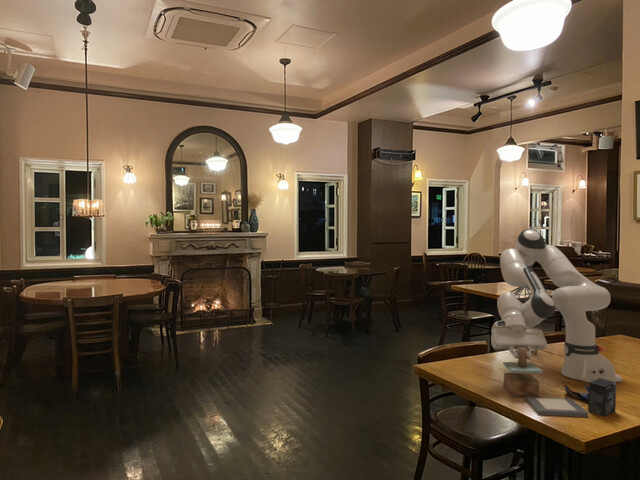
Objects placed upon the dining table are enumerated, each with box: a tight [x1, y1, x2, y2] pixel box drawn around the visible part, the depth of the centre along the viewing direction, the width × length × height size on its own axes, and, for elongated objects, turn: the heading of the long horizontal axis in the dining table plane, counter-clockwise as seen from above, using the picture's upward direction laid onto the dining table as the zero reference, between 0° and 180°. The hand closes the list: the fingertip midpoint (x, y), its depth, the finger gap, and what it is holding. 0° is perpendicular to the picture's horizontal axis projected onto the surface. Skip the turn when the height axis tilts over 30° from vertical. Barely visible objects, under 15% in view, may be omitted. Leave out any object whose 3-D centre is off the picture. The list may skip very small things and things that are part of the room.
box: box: [587, 378, 617, 417], centre depth 160 cm, size 8×6×11 cm
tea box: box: [502, 372, 540, 398], centre depth 178 cm, size 10×10×6 cm
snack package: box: [563, 382, 589, 401], centre depth 172 cm, size 12×6×12 cm
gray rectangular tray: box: [525, 396, 589, 418], centre depth 162 cm, size 16×13×2 cm
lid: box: [502, 347, 544, 375], centre depth 176 cm, size 11×11×8 cm
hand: (522, 357), depth 176 cm, fingers closed on lid, 3 cm apart
